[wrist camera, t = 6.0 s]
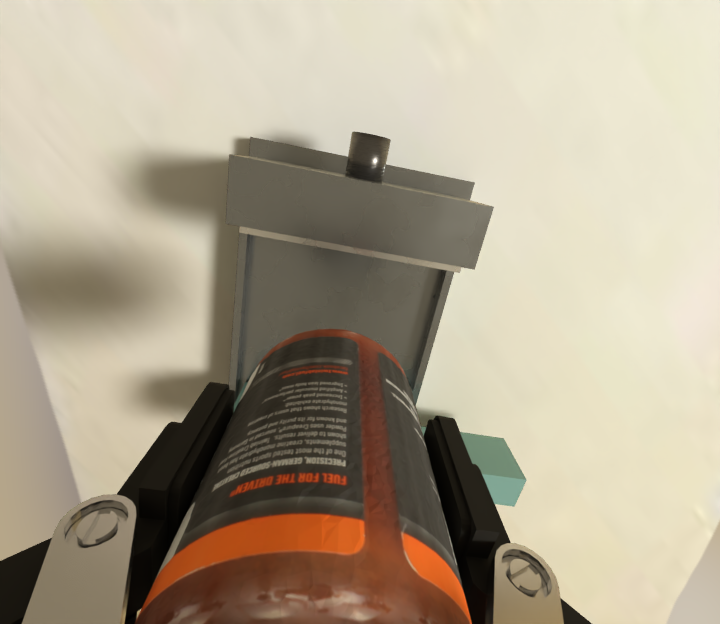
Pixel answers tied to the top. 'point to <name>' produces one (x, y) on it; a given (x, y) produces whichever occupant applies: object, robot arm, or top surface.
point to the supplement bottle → (315, 502)
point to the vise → (345, 249)
